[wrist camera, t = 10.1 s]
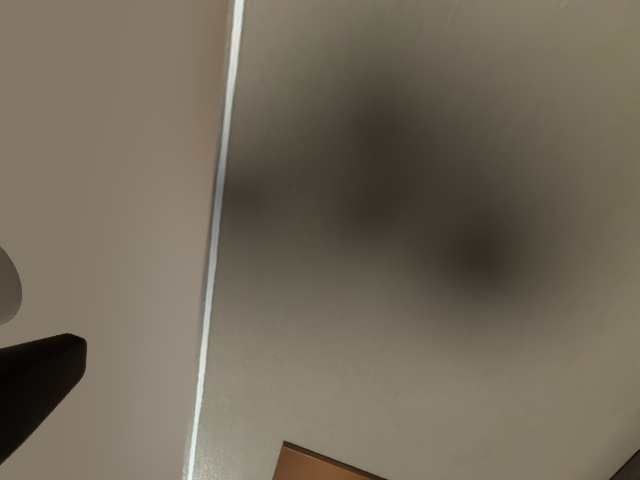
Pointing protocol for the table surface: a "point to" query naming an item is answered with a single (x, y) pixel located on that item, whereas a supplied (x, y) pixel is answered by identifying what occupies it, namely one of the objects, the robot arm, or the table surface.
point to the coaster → (313, 467)
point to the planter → (630, 470)
